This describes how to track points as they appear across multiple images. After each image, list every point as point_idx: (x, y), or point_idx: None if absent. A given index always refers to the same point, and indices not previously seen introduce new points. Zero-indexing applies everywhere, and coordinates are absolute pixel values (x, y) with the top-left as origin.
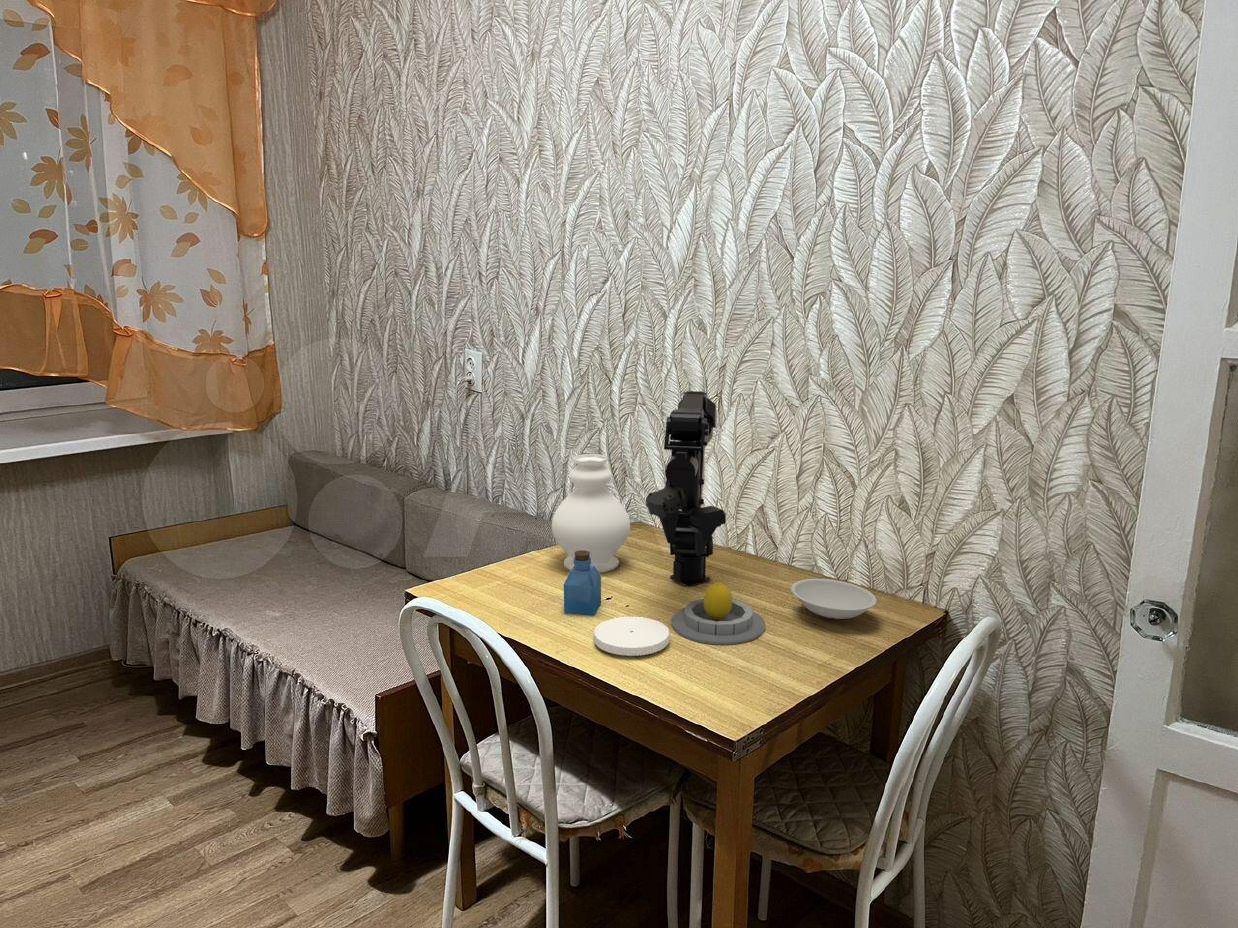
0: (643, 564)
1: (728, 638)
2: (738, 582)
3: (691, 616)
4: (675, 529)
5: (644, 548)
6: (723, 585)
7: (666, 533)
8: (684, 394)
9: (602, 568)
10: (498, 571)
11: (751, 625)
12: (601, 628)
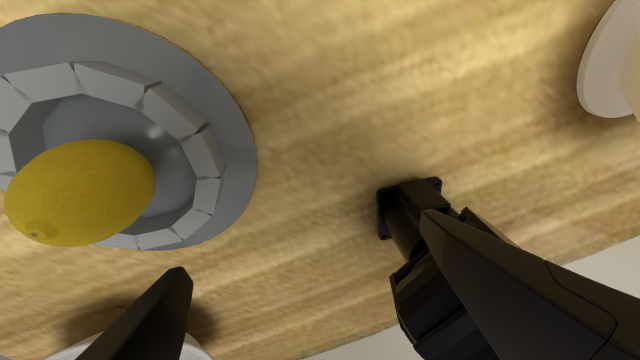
0: (534, 159)
1: None
2: (345, 270)
3: (59, 74)
4: (464, 305)
5: (584, 195)
6: (40, 241)
7: (469, 242)
8: None
9: (603, 42)
10: None
11: None
12: None
